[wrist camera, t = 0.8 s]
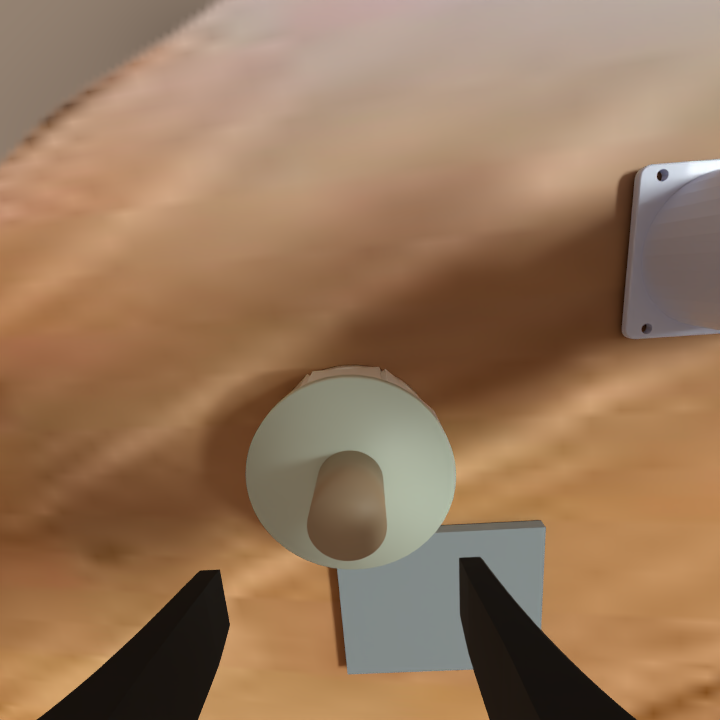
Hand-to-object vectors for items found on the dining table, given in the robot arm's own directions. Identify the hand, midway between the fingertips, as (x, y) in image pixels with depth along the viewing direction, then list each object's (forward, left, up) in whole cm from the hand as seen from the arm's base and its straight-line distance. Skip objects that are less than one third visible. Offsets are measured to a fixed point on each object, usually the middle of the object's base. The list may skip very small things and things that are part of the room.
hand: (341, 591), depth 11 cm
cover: (0, 0, -7) cm, 7 cm away
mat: (-5, +10, -10) cm, 15 cm away
